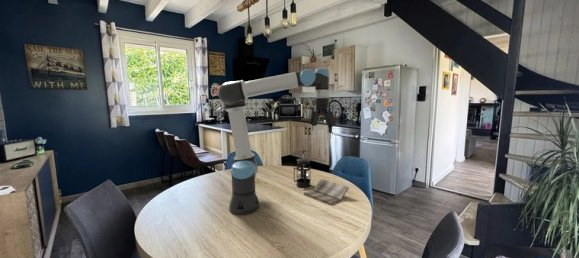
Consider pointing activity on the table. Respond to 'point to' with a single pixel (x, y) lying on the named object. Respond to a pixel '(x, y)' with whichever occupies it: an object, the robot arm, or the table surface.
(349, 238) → the table surface
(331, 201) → the laid board
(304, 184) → the french press
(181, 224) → the table surface
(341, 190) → the plank
